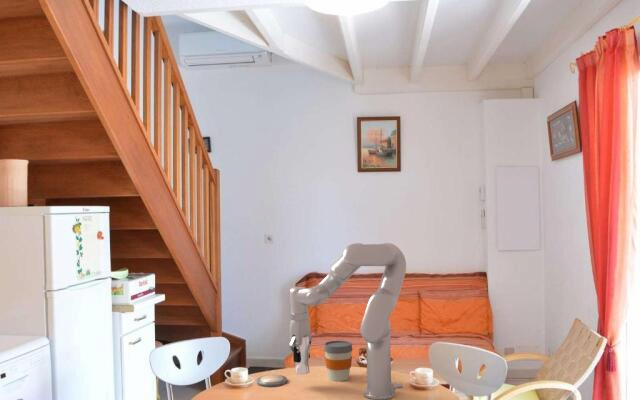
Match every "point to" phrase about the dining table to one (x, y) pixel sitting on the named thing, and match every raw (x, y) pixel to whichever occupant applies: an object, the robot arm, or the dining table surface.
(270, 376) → the coaster plate
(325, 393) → the dining table surface
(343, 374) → the reusable coffee cup
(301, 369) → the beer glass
